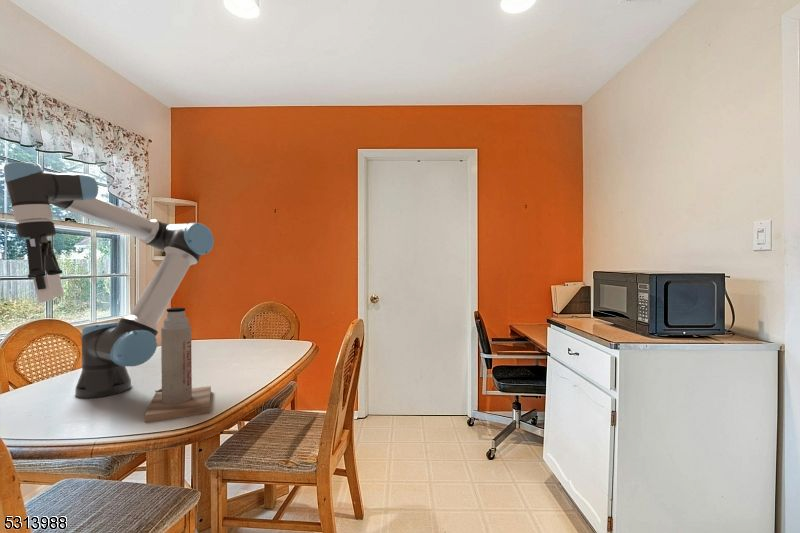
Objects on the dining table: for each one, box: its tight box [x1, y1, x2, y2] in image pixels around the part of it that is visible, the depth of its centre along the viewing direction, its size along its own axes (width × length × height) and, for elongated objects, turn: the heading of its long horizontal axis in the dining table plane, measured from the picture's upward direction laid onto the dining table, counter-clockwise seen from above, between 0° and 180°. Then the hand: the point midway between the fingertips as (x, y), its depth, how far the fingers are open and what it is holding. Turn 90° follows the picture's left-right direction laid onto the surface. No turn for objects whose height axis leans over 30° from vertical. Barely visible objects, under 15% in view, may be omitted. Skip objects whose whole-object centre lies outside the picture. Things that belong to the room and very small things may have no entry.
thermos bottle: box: [160, 307, 193, 404], centre depth 119 cm, size 8×8×28 cm
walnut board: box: [144, 385, 212, 423], centre depth 120 cm, size 20×16×2 cm
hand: (52, 299), depth 107 cm, fingers open, 13 cm apart
